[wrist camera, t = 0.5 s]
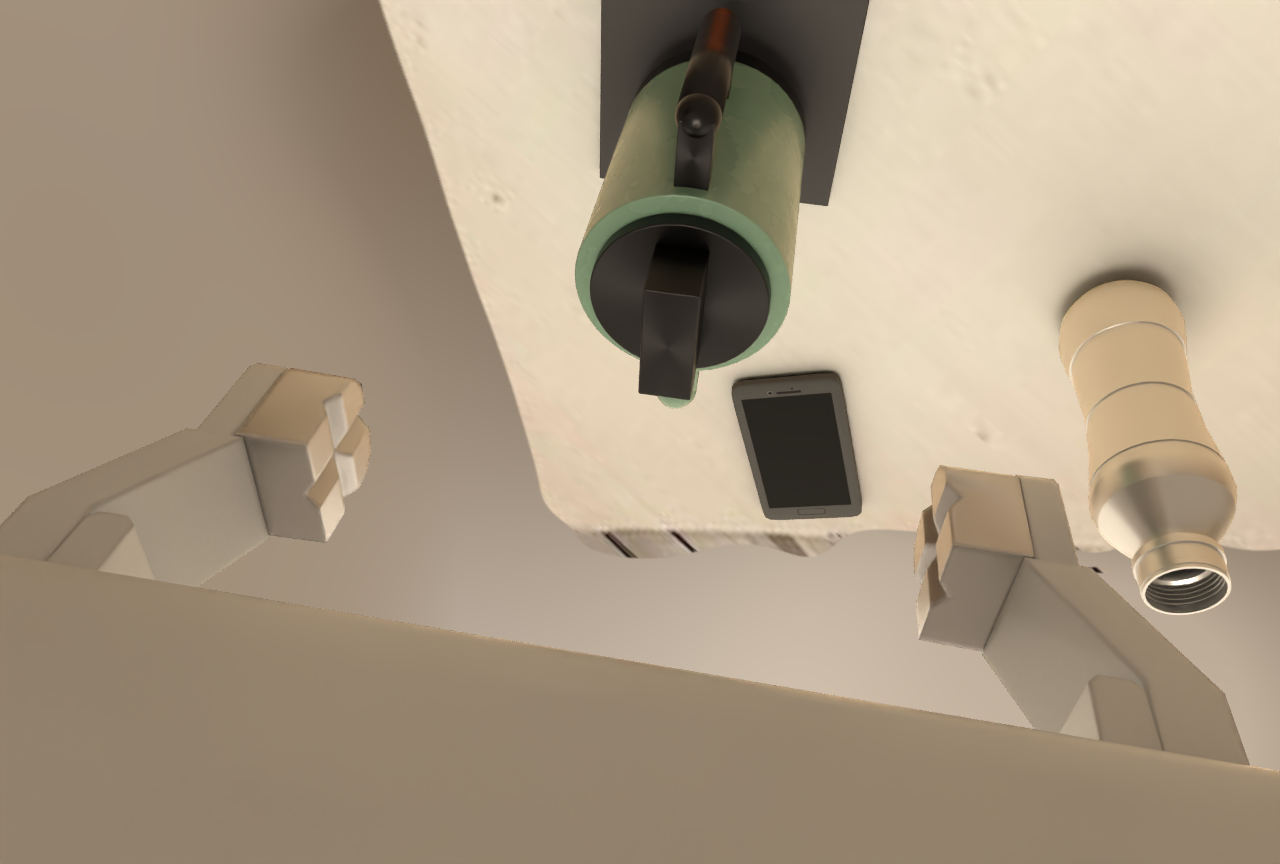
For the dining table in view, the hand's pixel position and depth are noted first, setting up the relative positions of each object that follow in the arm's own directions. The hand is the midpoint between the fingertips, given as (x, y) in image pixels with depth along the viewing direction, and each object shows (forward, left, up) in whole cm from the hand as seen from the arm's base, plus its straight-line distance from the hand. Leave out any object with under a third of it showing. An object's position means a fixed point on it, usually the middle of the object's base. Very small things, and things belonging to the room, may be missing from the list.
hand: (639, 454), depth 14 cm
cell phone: (+40, +6, -40) cm, 57 cm away
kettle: (+16, -2, -38) cm, 41 cm away
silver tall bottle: (+25, +22, -40) cm, 53 cm away
